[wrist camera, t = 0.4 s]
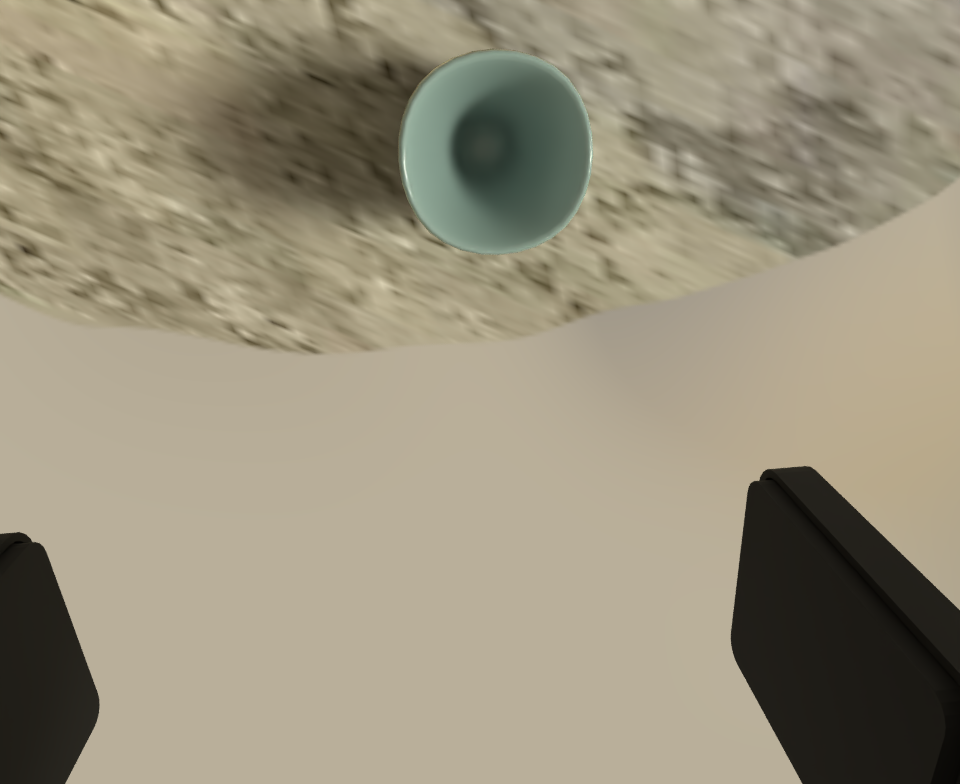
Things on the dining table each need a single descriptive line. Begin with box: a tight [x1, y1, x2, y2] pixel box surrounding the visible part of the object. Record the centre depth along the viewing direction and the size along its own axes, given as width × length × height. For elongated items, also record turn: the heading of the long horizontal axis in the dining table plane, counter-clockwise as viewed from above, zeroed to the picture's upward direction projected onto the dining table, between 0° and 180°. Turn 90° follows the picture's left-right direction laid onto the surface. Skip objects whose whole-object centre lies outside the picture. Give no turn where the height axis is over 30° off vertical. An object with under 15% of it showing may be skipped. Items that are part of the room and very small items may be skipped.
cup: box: [398, 49, 593, 255], centre depth 32 cm, size 8×8×10 cm
